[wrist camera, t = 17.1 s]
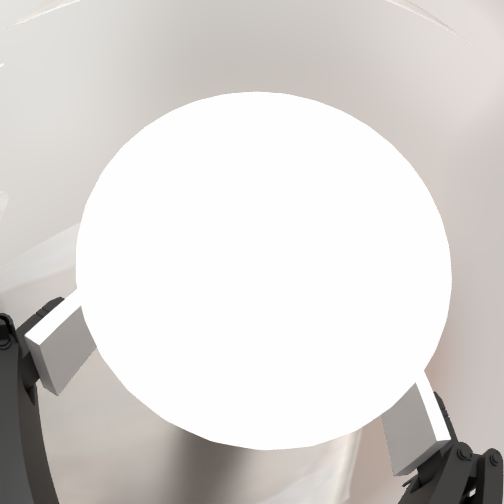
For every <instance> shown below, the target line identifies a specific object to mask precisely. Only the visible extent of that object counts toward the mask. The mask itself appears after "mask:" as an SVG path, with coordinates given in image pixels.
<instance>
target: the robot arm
mask: <svg viewBox="0 0 504 504" xmlns="http://www.w3.org/2000/svg"><path fill="white" fill-rule="evenodd" d="M96 347H97V346H96V344H95V342H94V339H93V337H92V335H91V333H90V331H89V328H88V326H87V324H86V322H85V319H84V315H83V311H82V307H81V302H80V297H79V293H78V289H77V290H76V291H74V292H73V293H72V294H71V295H70V296H68V297H67V298H66V299H64V298H62V297H58V298H56V299H54V300H51V301H49V302H48V303H47V304H46V305H44V306H43V307H42V309H40V310H38V311H37V312H36V314H34V315H33V316H31V317H30V318H29V319H28V320H27V321H26V322H25V323H23V324H22V325H21V326H20V327H19V328H18V329H17V330H15V327H14V324H13V320H12V319H11V317H10V316H9V315H7V314H5V313H0V504H59V501H58V498H57V495H56V492H55V488H54V485H53V481H52V477H51V474H50V470H49V465H48V461H47V456H46V452H45V447H44V441H43V435H42V429H41V422H40V415H39V406H38V395H37V387H36V382H37V380H38V379H39V378H40V380H41V382H42V385H43V387H44V388H46V389H47V390H49V391H50V392H52V393H53V394H55V395H57V396H58V395H59V394H60V393H61V391H62V390H63V389H64V388H65V386H66V385H67V384H68V382H69V381H70V380H71V378H72V377H73V376H74V375H75V373H76V372H77V371H78V370H79V368H80V367H81V366H82V365H83V363H84V362H85V361H86V360H87V358H88V357H89V356H90V355H91V353H92V352H93V351H94V350H95V348H96ZM381 417H382V422H383V426H384V430H385V435H386V440H387V445H388V450H389V455H390V461H391V466H392V472H393V476H402V475H408V474H409V473H411V472H412V471H414V470H415V469H416V468H417V470H418V474H417V475H415V476H414V477H412V478H411V479H410V480H408V481H407V482H405V483H404V484H403V485H402V486H403V487H405V486H406V485H407V484H409V483H410V485H409V486H408V488H407V490H406V491H405V493H404V495H403V496H402V498H401V500H400V501H399V503H398V504H502V498H503V459H502V456H501V454H500V452H499V451H498V450H496V449H493V448H491V449H488V450H487V451H486V452H485V453H484V454H483V455H478V454H474V453H473V451H472V450H471V448H470V447H469V446H468V445H467V444H466V443H463V442H458V440H457V437H456V434H455V432H454V429H453V426H452V423H451V421H450V418H449V417H448V414H447V411H446V410H445V406H444V404H443V401H442V399H441V398H440V397H439V396H438V394H437V393H436V392H433V391H432V389H431V386H430V384H429V382H428V380H427V377H426V375H425V373H424V370H423V372H422V373H421V375H420V376H419V378H418V379H417V381H416V382H415V383H414V384H413V385H412V386H411V387H410V389H409V390H408V391H407V392H406V393H405V394H404V395H403V396H402V397H401V398H400V399H399V400H398V401H397V402H396V403H395V404H394V405H393V406H392V407H391V408H389V409H388V410H387V411H385V412H384V413H382V414H381ZM475 488H476V491H475V494H474V495H472V496H471V497H470V496H469V494H470V492H471V491H472V490H474V489H475Z"/></svg>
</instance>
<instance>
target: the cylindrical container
mask: <svg viewBox="0 0 504 504" xmlns="http://www.w3.org/2000/svg"><path fill="white" fill-rule="evenodd" d="M76 282H77V288H78V293H79V297H80V302H81V307H82V311H83V315H84V319H85V322H86V324H87V326H88V328H89V331H90V333H91V335H92V337H93V339H94V342H95V344H96V346H97V348H98V350H99V352H100V354H101V356H102V357H103V359H104V360H105V361H106V363H107V364H108V365H109V367H110V368H111V369H112V371H113V372H114V373H115V375H116V376H117V377H118V378H119V380H120V381H121V382H122V383H123V385H124V386H125V387H126V388H127V389H128V391H130V392H131V393H132V394H133V395H134V396H135V397H137V398H138V399H139V400H140V401H141V402H143V403H144V404H145V405H146V406H148V407H149V408H150V409H151V410H153V411H154V412H155V413H157V414H158V415H159V416H161V417H162V418H163V419H165V420H166V421H168V422H170V423H172V424H174V425H176V426H178V427H180V428H182V429H185V430H187V431H189V432H191V433H193V434H196V435H198V436H200V437H203V438H205V439H207V440H210V441H213V442H217V443H222V444H227V445H233V446H238V447H244V448H251V449H258V450H275V449H288V448H298V447H307V446H314V445H317V444H320V443H323V442H326V441H329V440H332V439H335V438H337V437H340V436H343V435H345V434H348V433H351V432H353V431H356V430H358V429H359V428H361V427H362V426H364V425H366V424H367V423H369V422H370V421H372V420H373V419H375V418H376V417H378V416H379V415H381V414H382V413H384V412H385V411H387V410H388V409H389V408H391V407H392V406H393V405H394V404H395V403H396V402H397V401H398V400H399V399H400V398H401V397H402V396H403V395H404V394H405V393H406V392H407V391H408V390H409V389H410V387H411V386H412V385H413V384H414V383H415V382H416V381H417V379H418V378H419V376H420V375H421V373H422V372H423V370H424V369H425V367H426V365H427V364H428V362H429V360H430V359H431V357H432V355H433V354H434V352H435V350H436V347H437V344H438V342H439V339H440V336H441V334H442V331H443V328H444V325H445V322H446V319H447V314H448V308H449V301H450V293H451V284H452V280H451V264H450V251H449V246H448V242H447V238H446V234H445V230H444V227H443V223H442V220H441V217H440V214H439V212H438V210H437V208H436V206H435V204H434V201H433V199H432V197H431V195H430V193H429V191H428V189H427V188H426V186H425V185H424V183H423V182H422V180H421V179H420V177H419V176H418V174H417V173H416V172H415V170H414V169H413V167H412V166H411V165H410V163H409V162H408V161H407V160H406V159H405V158H404V157H403V156H402V155H401V154H400V153H399V152H398V151H397V150H396V149H395V148H394V147H393V146H392V145H391V144H390V143H389V142H388V141H387V140H385V139H384V138H383V137H381V136H380V135H379V134H378V133H376V132H375V131H374V130H373V129H371V128H370V127H369V126H367V125H365V124H364V123H362V122H360V121H359V120H357V119H355V118H353V117H352V116H350V115H348V114H346V113H345V112H342V111H340V110H337V109H335V108H333V107H330V106H327V105H325V104H322V103H320V102H317V101H313V100H310V99H305V98H301V97H297V96H292V95H288V94H279V93H266V92H248V93H247V92H246V93H233V94H225V95H220V96H216V97H211V98H207V99H203V100H199V101H196V102H193V103H190V104H188V105H185V106H183V107H181V108H178V109H176V110H174V111H171V112H169V113H168V114H166V115H164V116H162V117H161V118H159V119H157V120H156V121H154V122H152V123H151V124H149V125H148V126H146V127H145V128H144V129H143V130H141V131H140V132H139V133H138V134H137V135H135V136H134V137H133V138H132V139H131V140H130V141H128V142H127V143H126V144H125V145H124V146H123V147H122V148H121V150H120V151H119V152H118V153H117V154H116V155H115V157H114V158H113V159H112V160H111V162H110V163H109V164H108V165H107V167H106V168H105V169H104V171H103V172H102V174H101V176H100V178H99V179H98V181H97V183H96V185H95V187H94V189H93V191H92V193H91V195H90V197H89V199H88V201H87V203H86V206H85V210H84V213H83V218H82V221H81V225H80V229H79V233H78V238H77V248H76Z"/></svg>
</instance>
